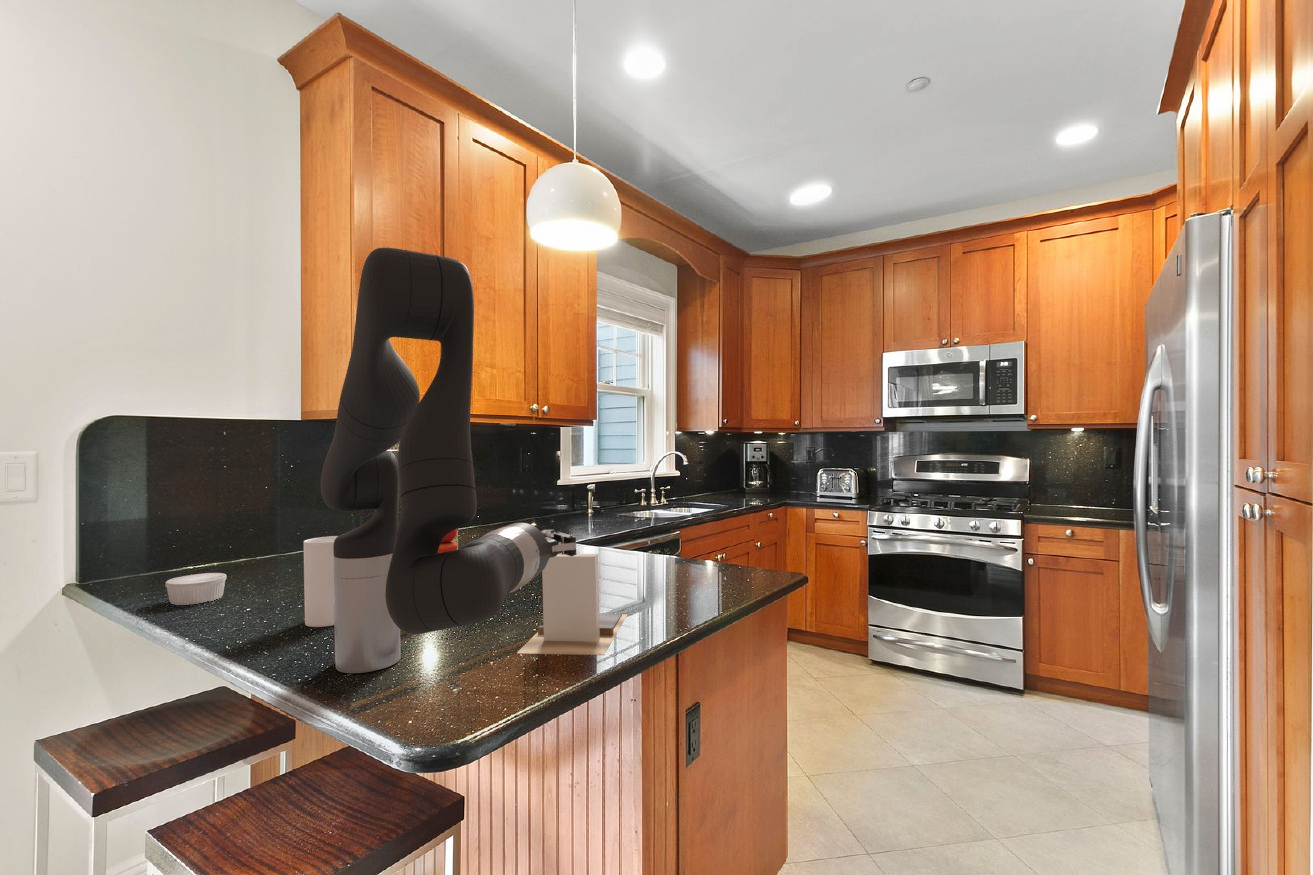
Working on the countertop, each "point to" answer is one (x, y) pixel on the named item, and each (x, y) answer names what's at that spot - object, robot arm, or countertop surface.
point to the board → (607, 633)
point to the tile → (571, 598)
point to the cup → (319, 581)
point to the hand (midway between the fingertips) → (550, 536)
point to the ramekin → (196, 588)
